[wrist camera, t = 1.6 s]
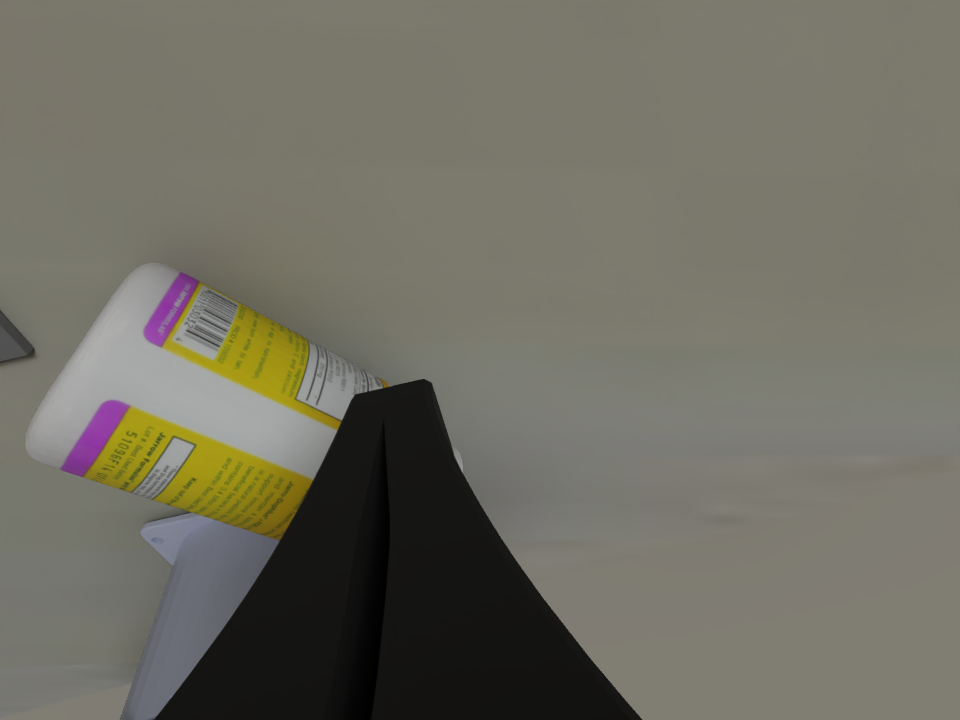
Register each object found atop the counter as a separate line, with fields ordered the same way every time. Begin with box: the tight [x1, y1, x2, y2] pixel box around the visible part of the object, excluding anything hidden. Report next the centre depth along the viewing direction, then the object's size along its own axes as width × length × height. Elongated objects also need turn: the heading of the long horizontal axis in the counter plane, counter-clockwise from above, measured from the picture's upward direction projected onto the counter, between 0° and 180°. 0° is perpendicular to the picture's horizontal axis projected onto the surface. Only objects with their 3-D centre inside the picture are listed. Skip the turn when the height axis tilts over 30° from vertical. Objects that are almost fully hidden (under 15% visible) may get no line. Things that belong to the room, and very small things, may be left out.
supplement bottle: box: [25, 263, 463, 541], centre depth 19 cm, size 7×7×13 cm
